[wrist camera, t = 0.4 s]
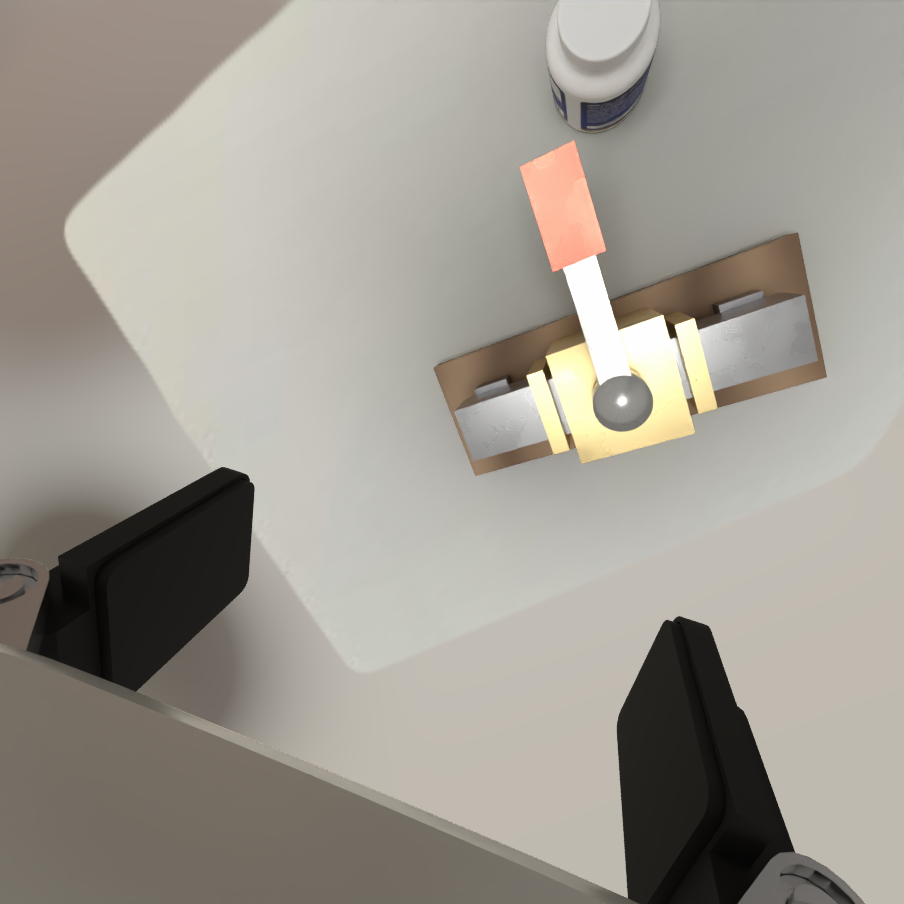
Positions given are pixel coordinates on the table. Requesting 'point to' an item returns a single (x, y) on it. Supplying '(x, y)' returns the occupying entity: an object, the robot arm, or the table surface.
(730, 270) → the mount board
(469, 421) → the valve
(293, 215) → the table surface
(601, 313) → the lever
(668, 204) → the table surface
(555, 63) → the pill bottle
